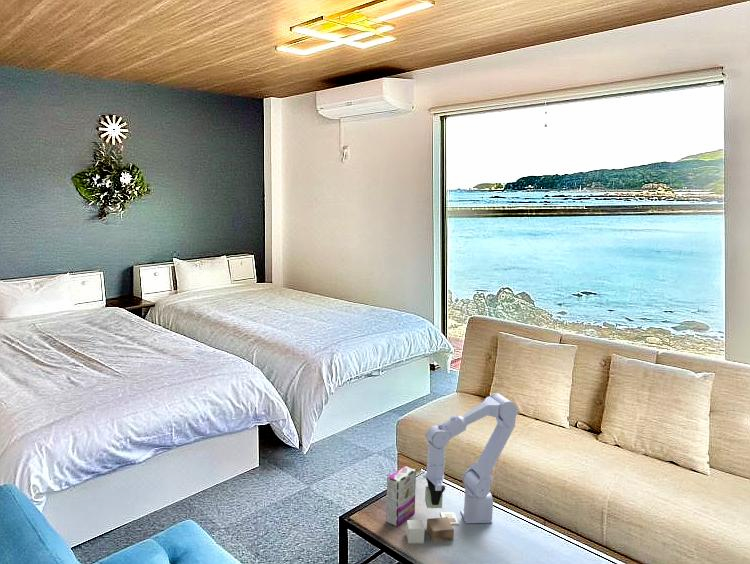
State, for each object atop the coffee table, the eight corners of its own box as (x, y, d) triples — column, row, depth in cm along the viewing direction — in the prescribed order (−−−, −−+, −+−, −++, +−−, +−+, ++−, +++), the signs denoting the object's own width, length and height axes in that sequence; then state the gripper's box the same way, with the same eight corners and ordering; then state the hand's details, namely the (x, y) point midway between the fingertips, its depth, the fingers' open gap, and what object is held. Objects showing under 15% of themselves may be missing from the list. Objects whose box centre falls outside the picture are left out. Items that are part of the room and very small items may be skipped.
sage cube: (439, 500, 190) (440, 486, 189) (441, 508, 185) (442, 494, 184) (425, 500, 190) (425, 486, 189) (427, 508, 185) (427, 494, 184)
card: (454, 513, 195) (454, 511, 194) (458, 524, 188) (458, 523, 188) (440, 513, 194) (440, 512, 194) (444, 524, 187) (444, 523, 187)
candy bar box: (403, 508, 197) (405, 464, 194) (415, 513, 194) (417, 469, 191) (384, 522, 188) (386, 476, 186) (396, 527, 185) (398, 481, 183)
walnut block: (446, 528, 186) (447, 517, 185) (453, 540, 179) (453, 529, 178) (426, 529, 184) (427, 518, 184) (432, 542, 178) (433, 531, 177)
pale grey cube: (421, 534, 182) (422, 519, 181) (423, 543, 177) (424, 528, 176) (406, 534, 181) (407, 520, 181) (408, 543, 176) (409, 529, 176)
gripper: (421, 452, 192) (419, 488, 194) (427, 472, 178) (425, 511, 180) (441, 452, 192) (439, 489, 194) (448, 472, 178) (446, 511, 180)
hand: (433, 499), depth 187 cm, fingers closed on sage cube, 5 cm apart
